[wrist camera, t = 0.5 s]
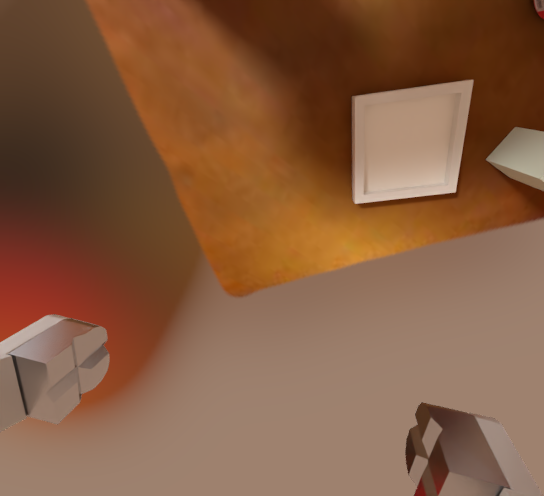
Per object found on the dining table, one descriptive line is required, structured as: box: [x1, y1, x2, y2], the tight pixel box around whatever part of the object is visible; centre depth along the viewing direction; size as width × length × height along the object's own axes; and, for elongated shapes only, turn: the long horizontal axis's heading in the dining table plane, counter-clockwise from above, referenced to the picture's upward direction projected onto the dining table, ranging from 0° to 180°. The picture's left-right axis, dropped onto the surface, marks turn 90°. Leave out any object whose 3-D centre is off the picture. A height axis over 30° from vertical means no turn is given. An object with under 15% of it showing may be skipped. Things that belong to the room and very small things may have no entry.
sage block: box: [485, 127, 544, 191], centre depth 37 cm, size 5×5×10 cm
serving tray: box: [352, 80, 474, 204], centre depth 41 cm, size 14×14×2 cm
